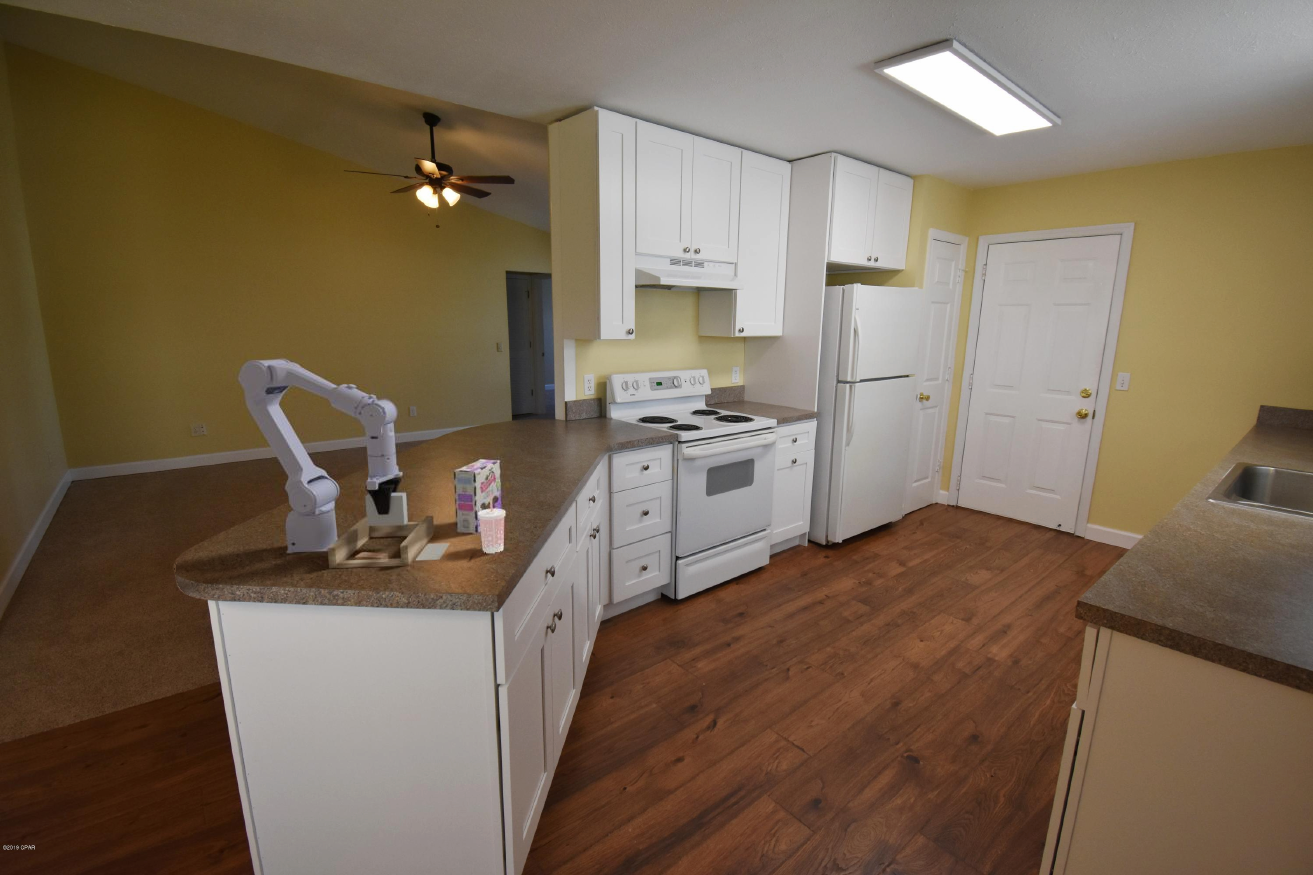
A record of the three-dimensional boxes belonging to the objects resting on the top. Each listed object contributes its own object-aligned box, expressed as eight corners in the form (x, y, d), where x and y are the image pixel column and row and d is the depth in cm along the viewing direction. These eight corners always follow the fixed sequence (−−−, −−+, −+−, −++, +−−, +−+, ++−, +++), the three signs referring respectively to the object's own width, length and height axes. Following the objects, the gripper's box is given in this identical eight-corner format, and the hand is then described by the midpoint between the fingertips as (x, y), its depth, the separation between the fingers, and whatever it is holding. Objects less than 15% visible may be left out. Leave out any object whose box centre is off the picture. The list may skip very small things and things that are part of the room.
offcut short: (355, 561, 122) (355, 556, 122) (362, 557, 125) (362, 552, 125) (381, 563, 122) (381, 557, 122) (388, 558, 124) (387, 553, 124)
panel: (367, 525, 129) (365, 496, 128) (371, 522, 131) (369, 492, 130) (404, 525, 130) (402, 495, 128) (407, 521, 132) (406, 492, 131)
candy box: (477, 536, 140) (474, 471, 137) (455, 534, 141) (452, 469, 138) (503, 518, 154) (500, 459, 151) (483, 517, 155) (480, 458, 152)
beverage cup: (505, 543, 135) (503, 486, 133) (508, 552, 130) (506, 493, 127) (478, 546, 133) (475, 488, 131) (480, 556, 128) (477, 495, 125)
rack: (329, 570, 119) (327, 547, 118) (366, 536, 139) (364, 517, 138) (409, 567, 121) (407, 545, 120) (434, 535, 140) (433, 515, 140)
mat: (415, 562, 123) (414, 560, 123) (427, 546, 133) (427, 543, 133) (438, 562, 124) (438, 559, 124) (450, 545, 134) (449, 542, 134)
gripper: (389, 460, 121) (393, 521, 123) (410, 447, 135) (413, 502, 137) (354, 461, 120) (359, 522, 122) (379, 447, 134) (383, 503, 137)
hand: (386, 512), depth 130 cm, fingers closed on panel, 2 cm apart
